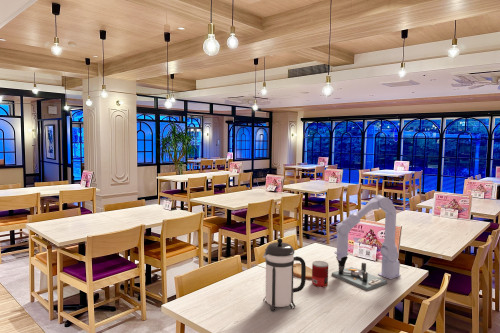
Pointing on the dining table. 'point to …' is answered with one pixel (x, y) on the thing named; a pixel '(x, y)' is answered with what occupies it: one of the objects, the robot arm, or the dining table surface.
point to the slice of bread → (298, 271)
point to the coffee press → (281, 274)
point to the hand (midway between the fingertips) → (341, 269)
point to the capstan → (356, 272)
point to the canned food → (320, 273)
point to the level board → (360, 280)
